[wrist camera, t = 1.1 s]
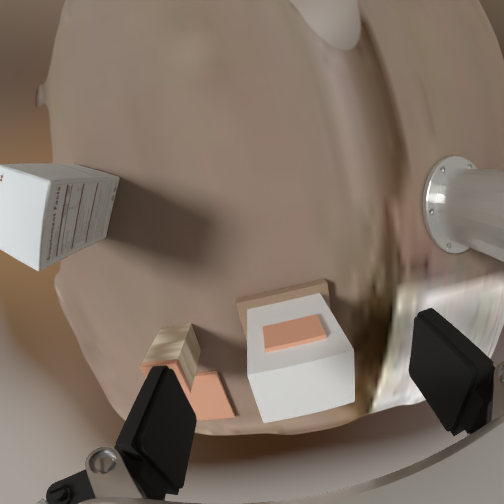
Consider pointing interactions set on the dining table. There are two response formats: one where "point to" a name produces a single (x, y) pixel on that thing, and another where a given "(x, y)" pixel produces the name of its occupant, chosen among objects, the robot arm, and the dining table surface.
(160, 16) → the dining table surface
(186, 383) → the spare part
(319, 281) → the mounted unit
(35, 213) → the supplement box
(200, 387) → the terracotta pad
